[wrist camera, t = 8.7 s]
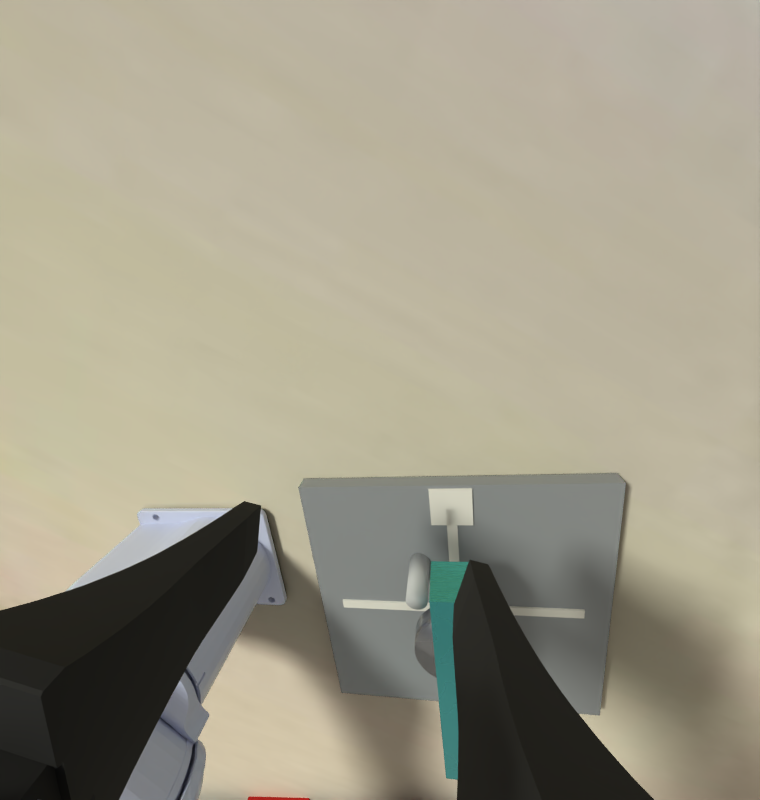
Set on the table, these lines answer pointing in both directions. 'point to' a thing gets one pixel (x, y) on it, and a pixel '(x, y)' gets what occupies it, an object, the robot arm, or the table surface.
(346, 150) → the table surface
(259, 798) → the maze game
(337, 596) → the lock board
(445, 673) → the teal rectangular block
